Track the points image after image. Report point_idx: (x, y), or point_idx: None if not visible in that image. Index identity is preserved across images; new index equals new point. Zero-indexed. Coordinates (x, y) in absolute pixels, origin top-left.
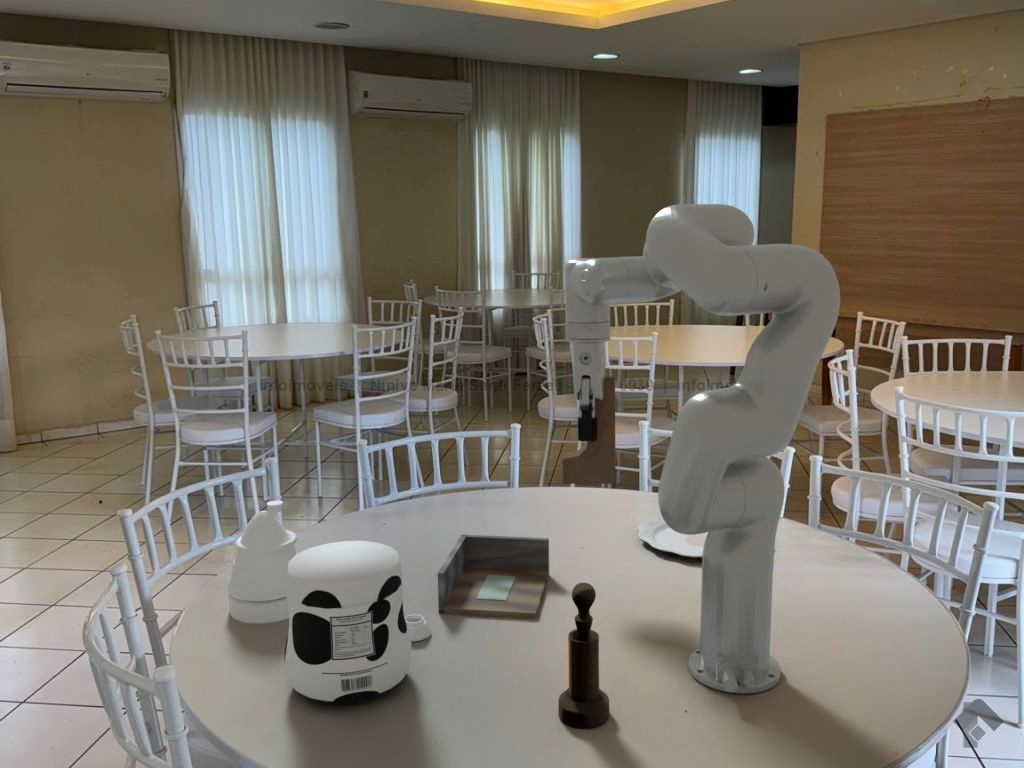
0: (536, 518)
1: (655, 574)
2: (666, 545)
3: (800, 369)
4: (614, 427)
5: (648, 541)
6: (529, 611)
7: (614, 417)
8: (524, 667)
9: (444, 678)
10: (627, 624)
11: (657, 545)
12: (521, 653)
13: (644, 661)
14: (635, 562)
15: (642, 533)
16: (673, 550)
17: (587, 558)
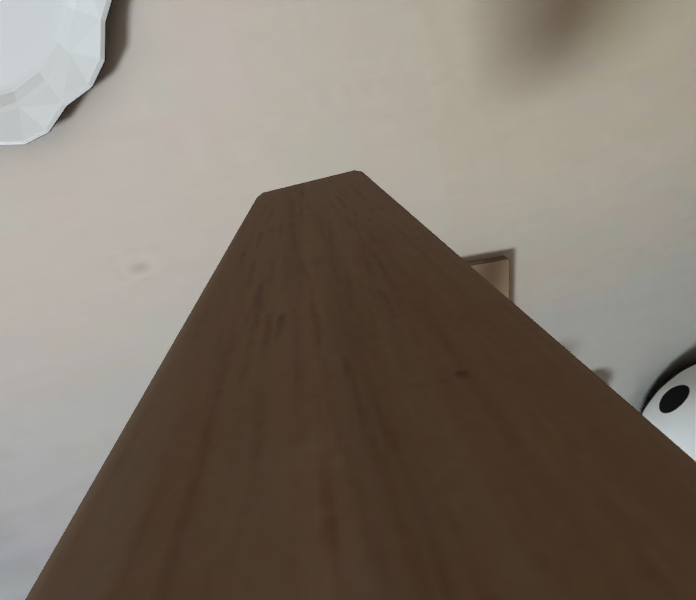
0: (10, 407)
1: (232, 60)
2: (17, 57)
3: None
4: (427, 231)
5: (61, 105)
6: (503, 270)
7: (459, 259)
8: (663, 222)
9: (688, 314)
10: (504, 82)
11: (68, 76)
12: (620, 240)
13: (647, 19)
14: (176, 125)
15: (2, 134)
16: (46, 30)
17: (198, 240)
